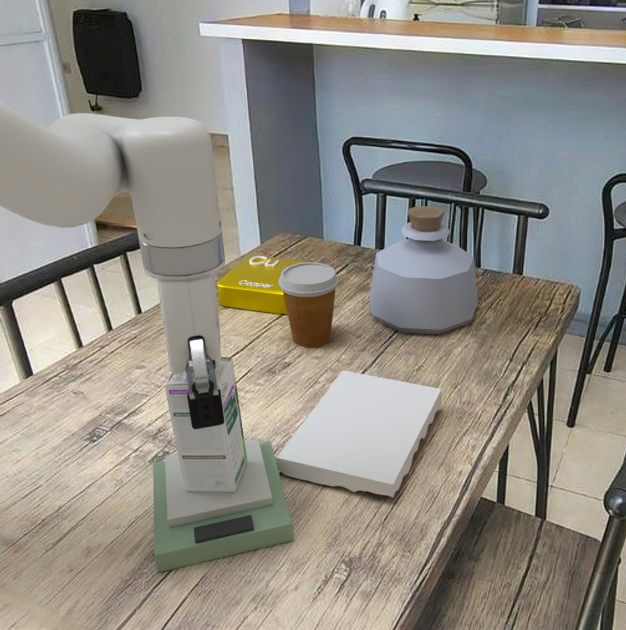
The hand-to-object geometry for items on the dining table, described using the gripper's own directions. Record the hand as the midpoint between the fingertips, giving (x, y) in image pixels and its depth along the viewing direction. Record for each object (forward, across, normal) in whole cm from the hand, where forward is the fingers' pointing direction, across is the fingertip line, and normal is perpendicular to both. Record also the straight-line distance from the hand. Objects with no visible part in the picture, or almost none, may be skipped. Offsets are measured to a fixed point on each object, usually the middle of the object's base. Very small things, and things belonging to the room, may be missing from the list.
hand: (205, 400), depth 73 cm
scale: (+14, +2, 0) cm, 14 cm away
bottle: (+14, -38, +39) cm, 57 cm away
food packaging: (+14, -5, +19) cm, 25 cm away
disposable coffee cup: (+14, -34, +18) cm, 41 cm away
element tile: (+14, -54, +14) cm, 57 cm away
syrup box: (+11, 0, 0) cm, 11 cm away
